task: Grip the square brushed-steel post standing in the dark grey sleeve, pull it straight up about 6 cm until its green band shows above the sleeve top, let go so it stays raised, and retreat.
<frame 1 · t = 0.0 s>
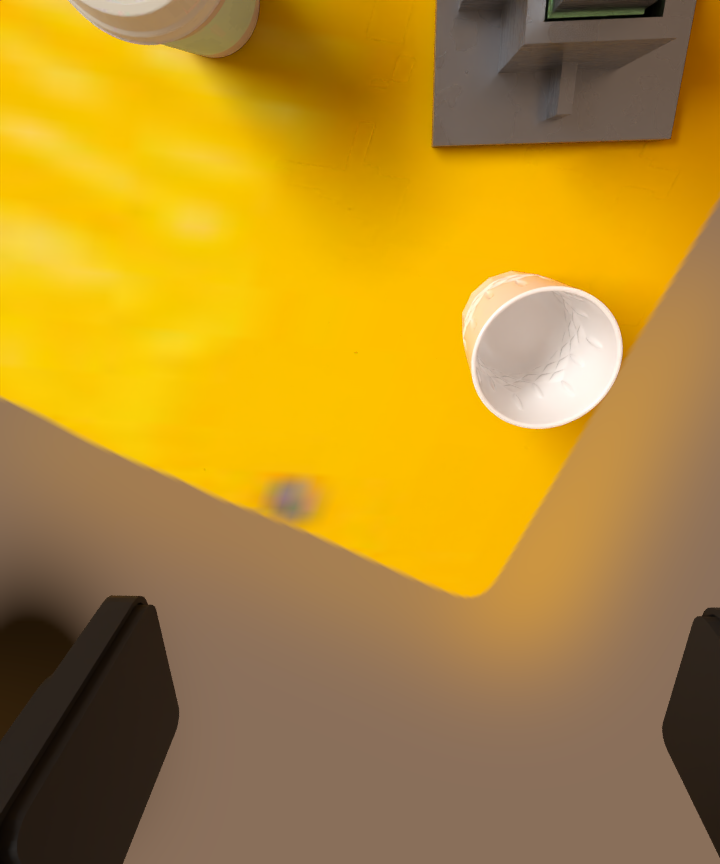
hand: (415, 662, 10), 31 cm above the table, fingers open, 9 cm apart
white cup: (509, 319, 38), on the table
stand base: (560, 3, 30), on the table
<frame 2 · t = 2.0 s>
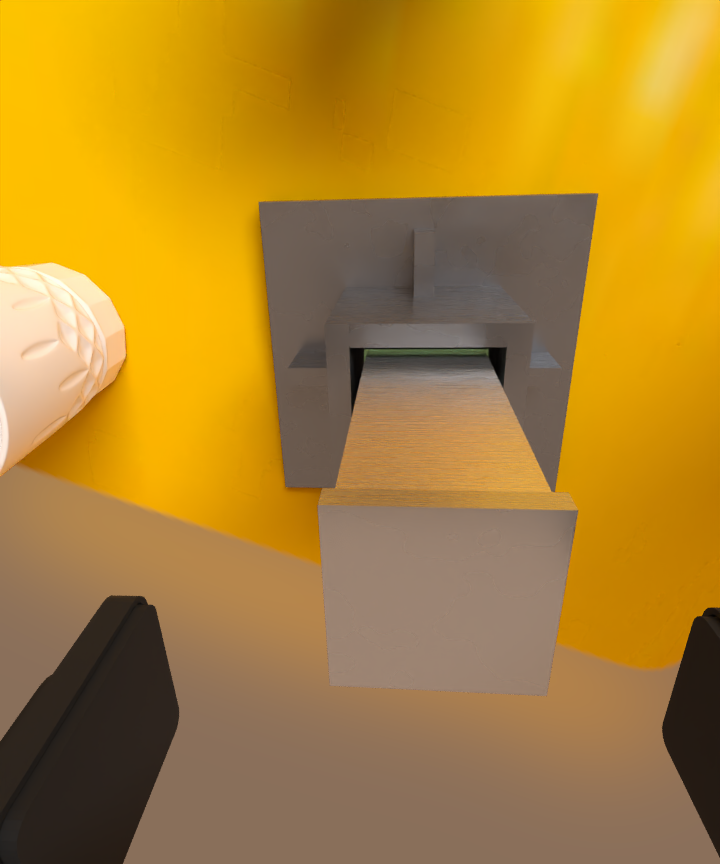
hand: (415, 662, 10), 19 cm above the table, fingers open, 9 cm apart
white cup: (64, 330, 27), on the table
stand base: (419, 354, 26), on the table
post: (426, 434, 18), point 9 cm above the table, slide at 0.0 cm
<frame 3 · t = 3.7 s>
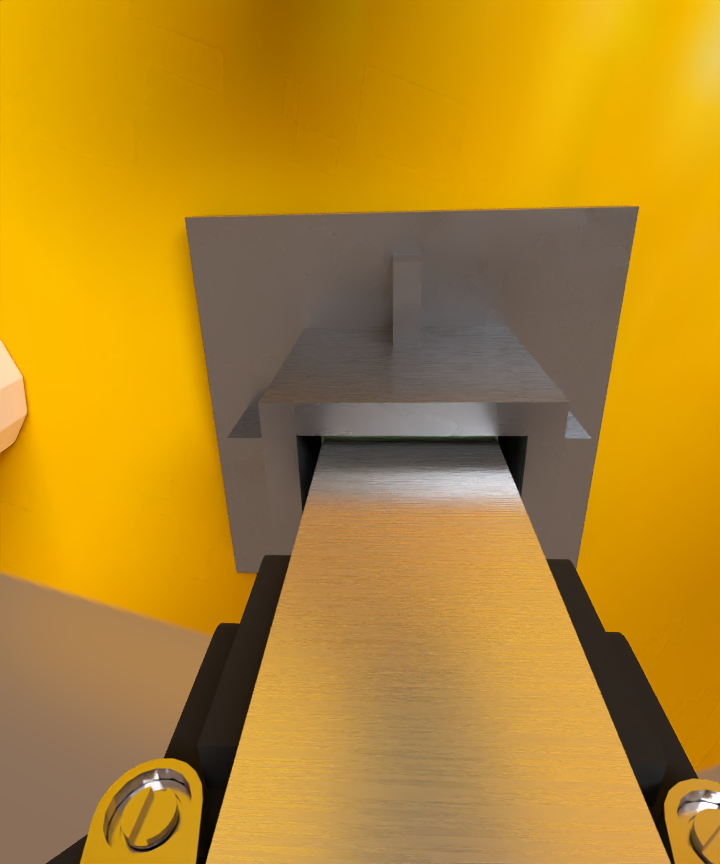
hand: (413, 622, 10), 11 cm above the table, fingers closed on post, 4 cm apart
stand base: (403, 410, 21), on the table
post: (410, 564, 12), point 9 cm above the table, slide at 0.0 cm, touching gripper
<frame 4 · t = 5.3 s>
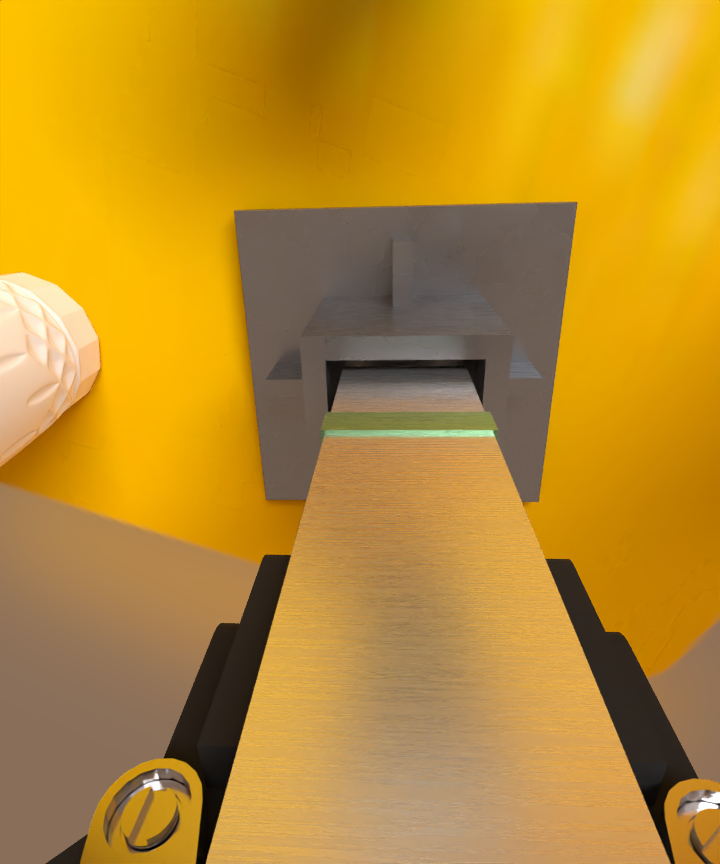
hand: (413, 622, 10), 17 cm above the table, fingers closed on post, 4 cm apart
white cup: (37, 341, 27), on the table
stand base: (400, 364, 26), on the table
post: (410, 564, 12), point 15 cm above the table, slide at 5.9 cm, touching gripper
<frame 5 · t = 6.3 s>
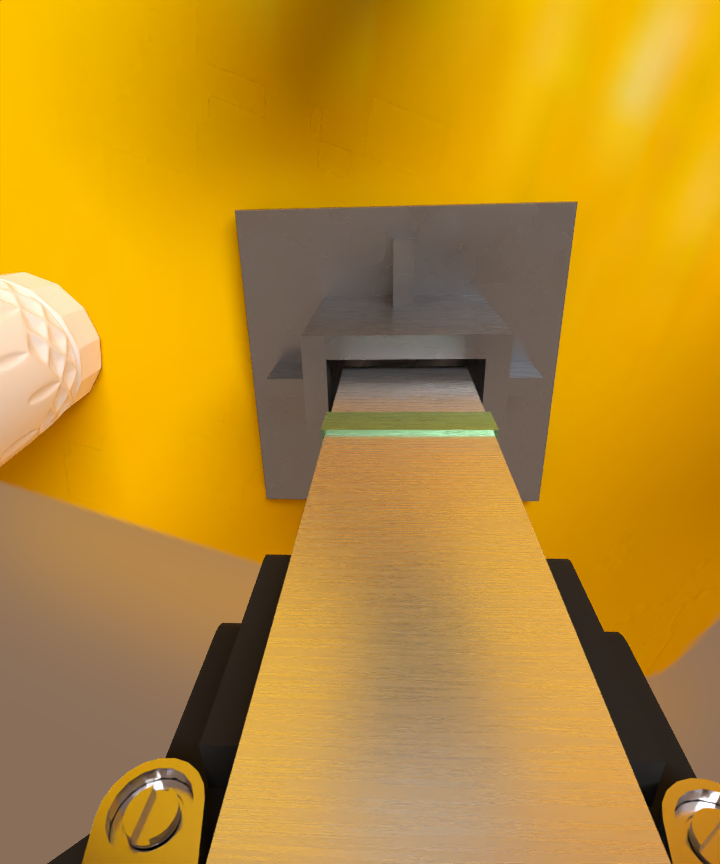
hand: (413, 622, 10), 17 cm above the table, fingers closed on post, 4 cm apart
white cup: (38, 341, 27), on the table
stand base: (401, 363, 26), on the table
post: (410, 564, 12), point 15 cm above the table, slide at 6.0 cm, touching gripper
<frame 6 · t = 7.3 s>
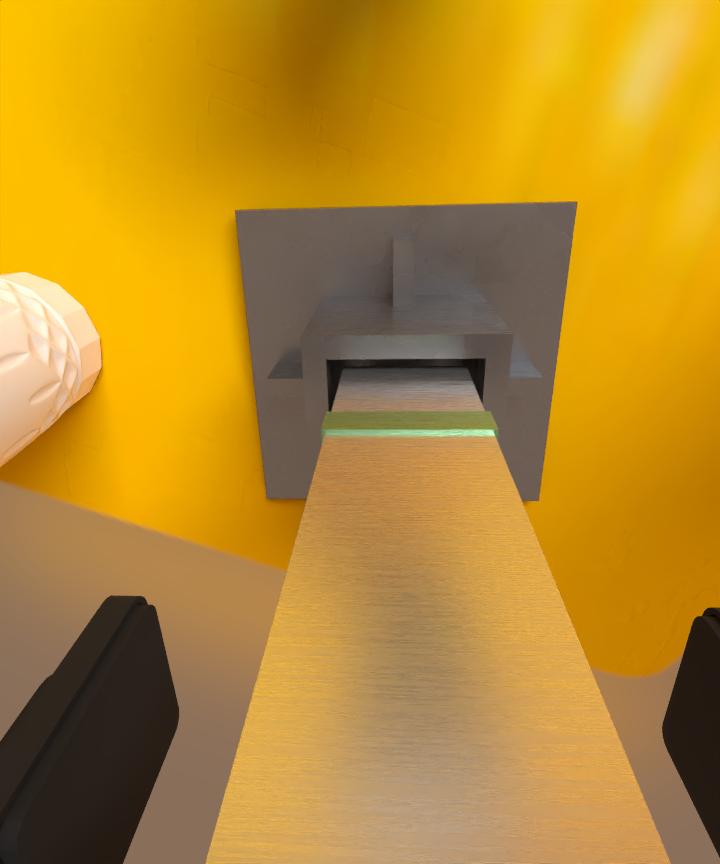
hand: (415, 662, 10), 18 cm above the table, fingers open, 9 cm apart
white cup: (38, 340, 27), on the table
stand base: (401, 363, 26), on the table
post: (410, 563, 12), point 15 cm above the table, slide at 6.0 cm
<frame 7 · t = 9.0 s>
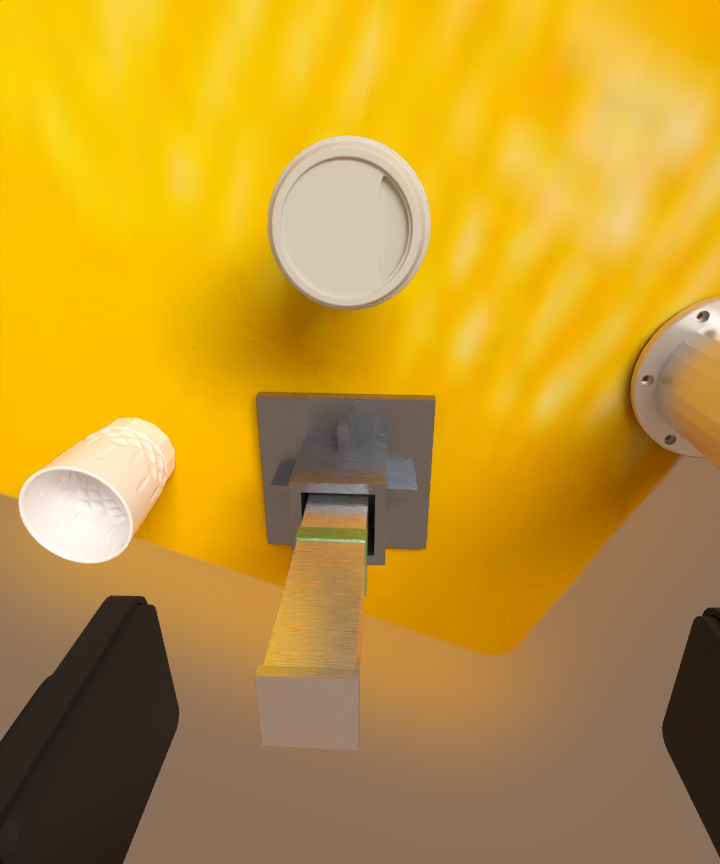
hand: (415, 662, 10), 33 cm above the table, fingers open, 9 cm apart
white cup: (138, 451, 46), on the table
stand base: (346, 471, 46), on the table
post: (327, 594, 32), point 15 cm above the table, slide at 6.0 cm
coffee cup: (359, 218, 38), on the table
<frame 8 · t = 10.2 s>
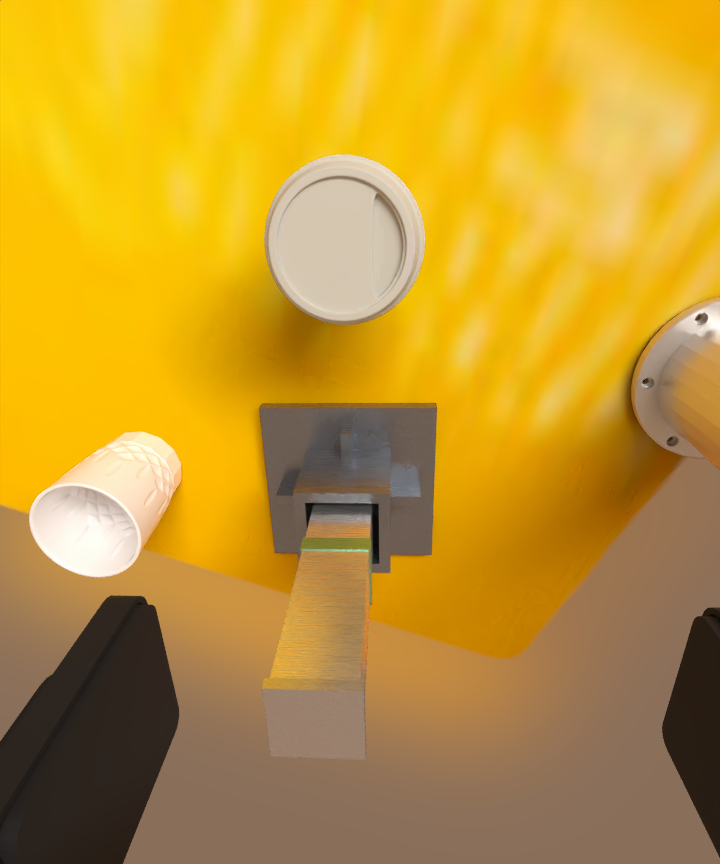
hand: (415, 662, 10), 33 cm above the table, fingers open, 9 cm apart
white cup: (145, 464, 47), on the table
stand base: (350, 479, 46), on the table
post: (332, 604, 32), point 15 cm above the table, slide at 6.0 cm
coffee cup: (356, 230, 38), on the table
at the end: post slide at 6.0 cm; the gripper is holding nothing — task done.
